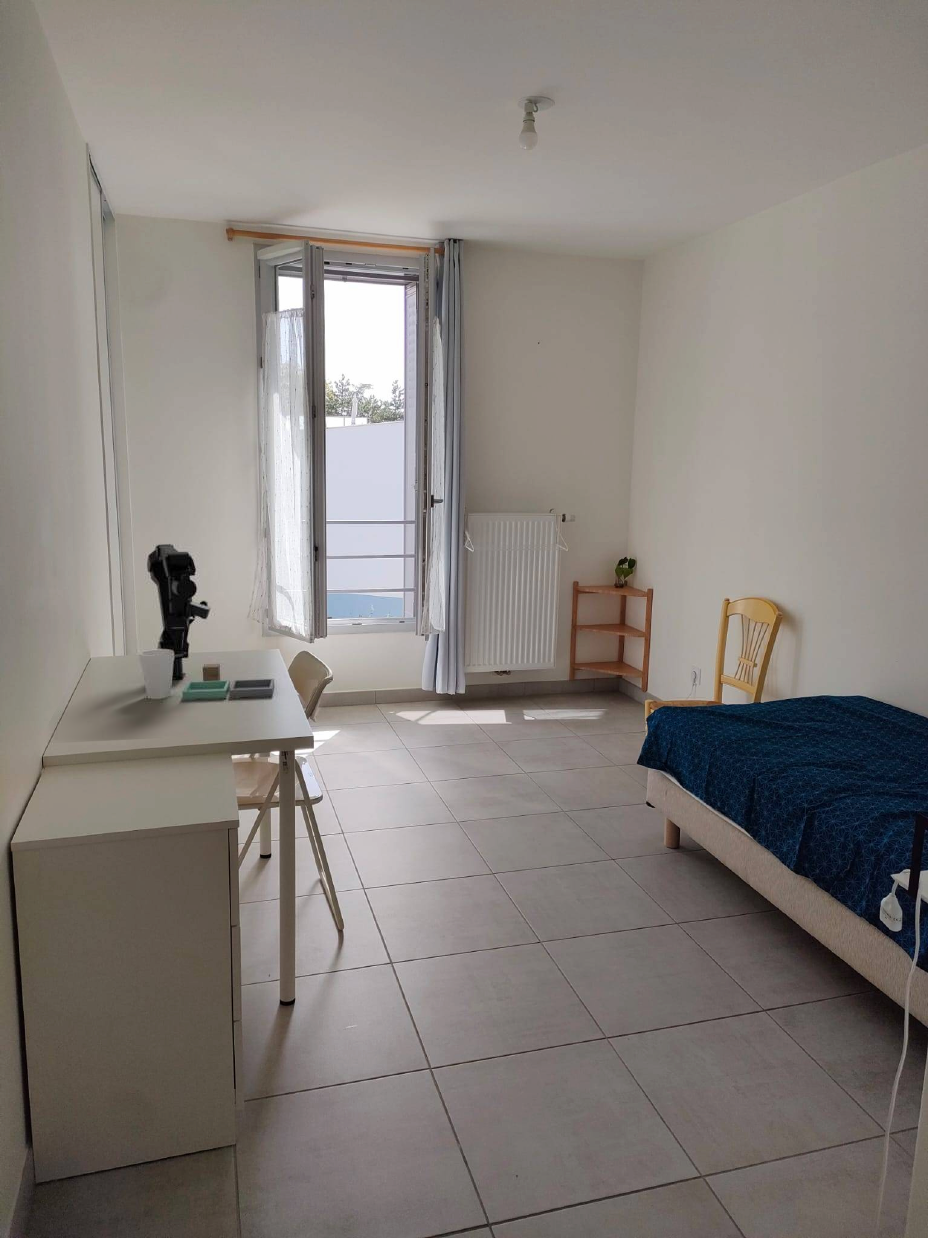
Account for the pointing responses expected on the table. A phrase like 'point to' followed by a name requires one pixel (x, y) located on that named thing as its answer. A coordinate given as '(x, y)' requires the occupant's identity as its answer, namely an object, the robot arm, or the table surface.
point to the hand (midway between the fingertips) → (182, 646)
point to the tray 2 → (252, 688)
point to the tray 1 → (206, 690)
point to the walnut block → (211, 672)
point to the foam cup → (157, 672)
